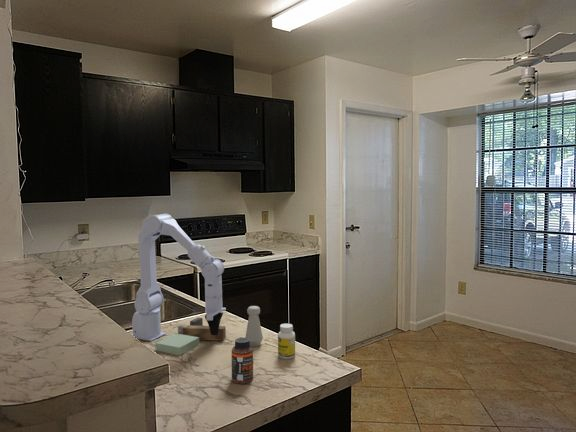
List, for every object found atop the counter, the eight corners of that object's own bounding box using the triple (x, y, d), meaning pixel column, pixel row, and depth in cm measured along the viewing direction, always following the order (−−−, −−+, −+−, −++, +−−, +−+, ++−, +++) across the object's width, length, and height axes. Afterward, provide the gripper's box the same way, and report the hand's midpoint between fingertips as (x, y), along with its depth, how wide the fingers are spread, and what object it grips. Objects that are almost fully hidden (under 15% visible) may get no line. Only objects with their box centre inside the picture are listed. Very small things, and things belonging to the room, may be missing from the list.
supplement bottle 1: (244, 386, 116) (243, 345, 115) (227, 381, 119) (226, 341, 118) (257, 378, 121) (257, 338, 120) (240, 373, 124) (240, 334, 123)
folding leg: (176, 339, 151) (176, 327, 151) (179, 336, 154) (179, 324, 154) (223, 340, 149) (223, 328, 149) (225, 337, 153) (225, 325, 152)
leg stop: (190, 329, 162) (190, 321, 162) (198, 325, 167) (198, 317, 166) (194, 329, 161) (194, 321, 161) (202, 325, 166) (202, 318, 166)
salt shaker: (260, 348, 142) (259, 309, 141) (243, 347, 144) (242, 308, 143) (264, 342, 148) (264, 304, 147) (248, 341, 149) (247, 304, 148)
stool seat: (155, 350, 142) (155, 342, 141) (175, 340, 151) (175, 333, 150) (180, 355, 137) (179, 347, 137) (199, 344, 146) (199, 337, 146)
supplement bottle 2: (274, 356, 136) (274, 325, 135) (286, 351, 140) (286, 321, 139) (287, 360, 132) (286, 329, 132) (298, 355, 136) (298, 325, 136)
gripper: (221, 301, 140) (222, 342, 141) (229, 290, 155) (229, 327, 156) (199, 301, 141) (200, 342, 142) (209, 290, 155) (210, 327, 156)
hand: (214, 334), depth 149 cm, fingers closed
